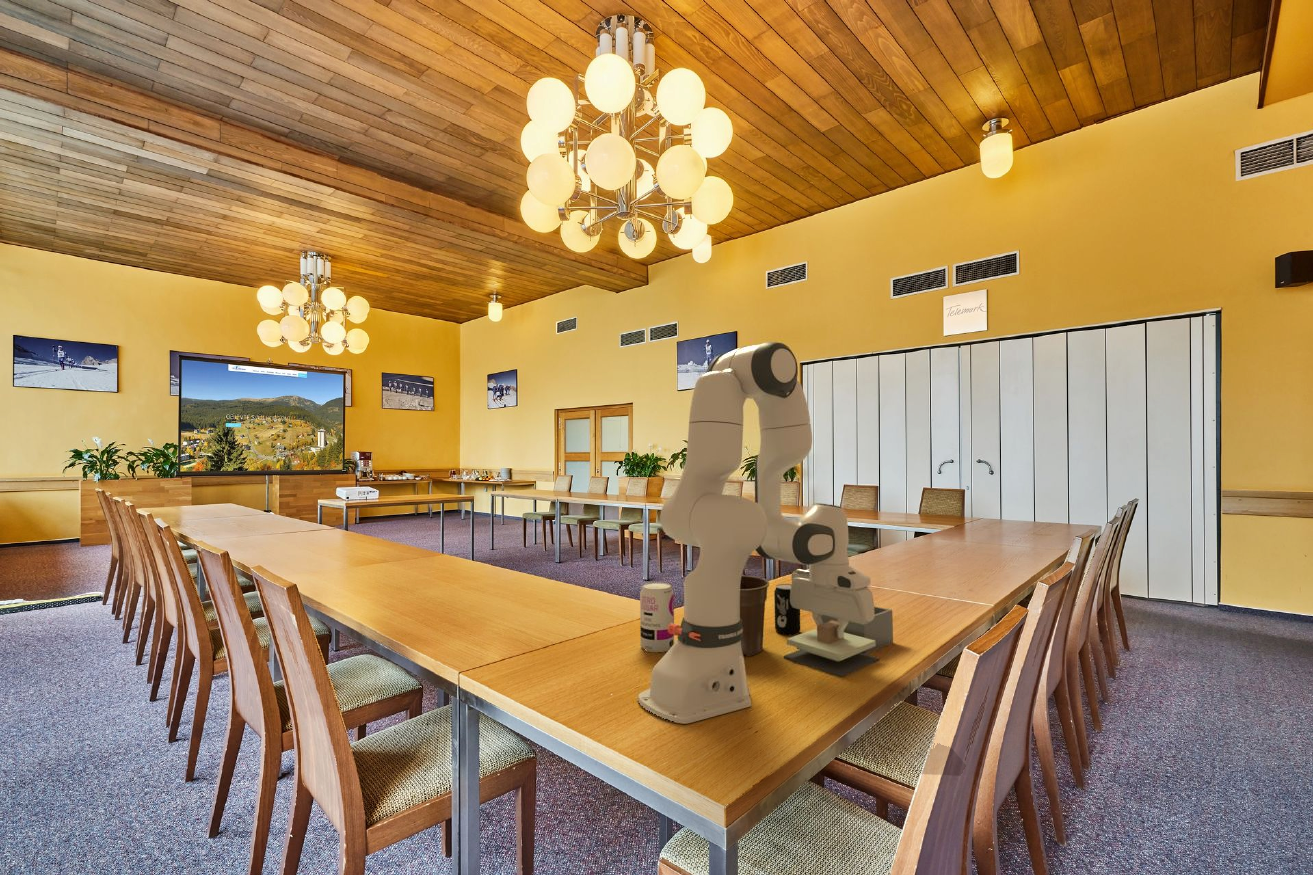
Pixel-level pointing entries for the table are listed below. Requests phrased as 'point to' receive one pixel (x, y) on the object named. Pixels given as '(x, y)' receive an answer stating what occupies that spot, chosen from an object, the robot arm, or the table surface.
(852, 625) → the storage box
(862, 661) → the rubber mat
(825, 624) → the lid
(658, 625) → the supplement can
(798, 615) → the beverage can
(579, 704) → the table surface
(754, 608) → the plant pot
